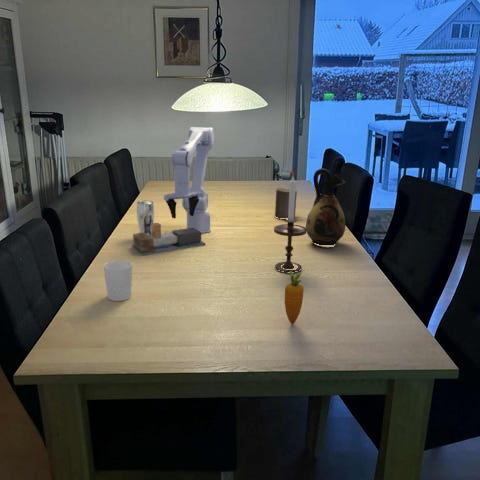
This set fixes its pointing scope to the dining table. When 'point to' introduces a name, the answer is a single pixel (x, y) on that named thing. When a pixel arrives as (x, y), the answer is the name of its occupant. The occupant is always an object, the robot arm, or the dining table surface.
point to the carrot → (293, 298)
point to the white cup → (118, 280)
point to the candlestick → (290, 231)
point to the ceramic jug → (326, 212)
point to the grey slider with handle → (162, 236)
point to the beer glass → (145, 216)
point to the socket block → (143, 242)
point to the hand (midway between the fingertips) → (182, 216)
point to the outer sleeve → (185, 239)
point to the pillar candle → (283, 202)
